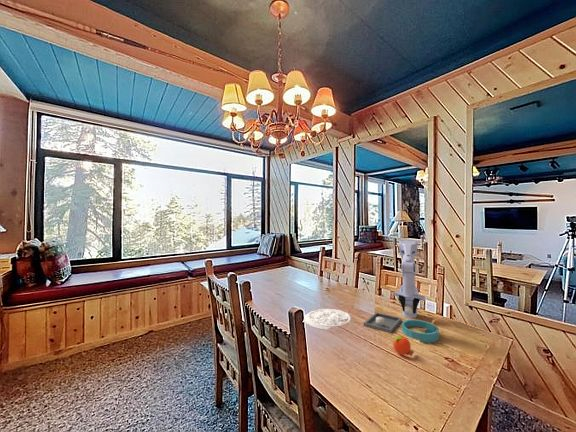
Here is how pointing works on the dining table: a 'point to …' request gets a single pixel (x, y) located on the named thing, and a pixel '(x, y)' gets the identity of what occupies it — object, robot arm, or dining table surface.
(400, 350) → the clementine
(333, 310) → the ceiling medallion
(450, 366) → the dining table surface
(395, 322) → the tray
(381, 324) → the stone
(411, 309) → the stone
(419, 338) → the bowl
